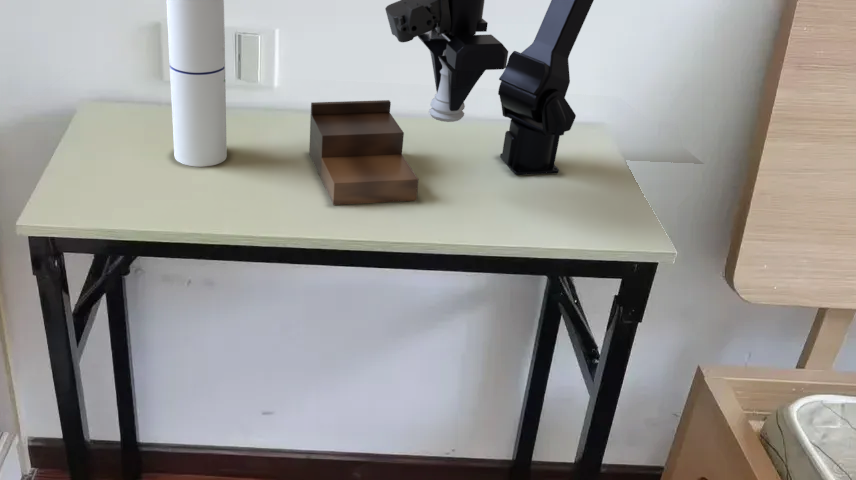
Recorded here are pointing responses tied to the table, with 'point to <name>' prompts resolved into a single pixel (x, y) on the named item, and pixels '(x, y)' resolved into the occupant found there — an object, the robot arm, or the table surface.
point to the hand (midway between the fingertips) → (447, 103)
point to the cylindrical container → (197, 80)
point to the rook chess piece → (444, 100)
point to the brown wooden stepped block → (360, 153)
